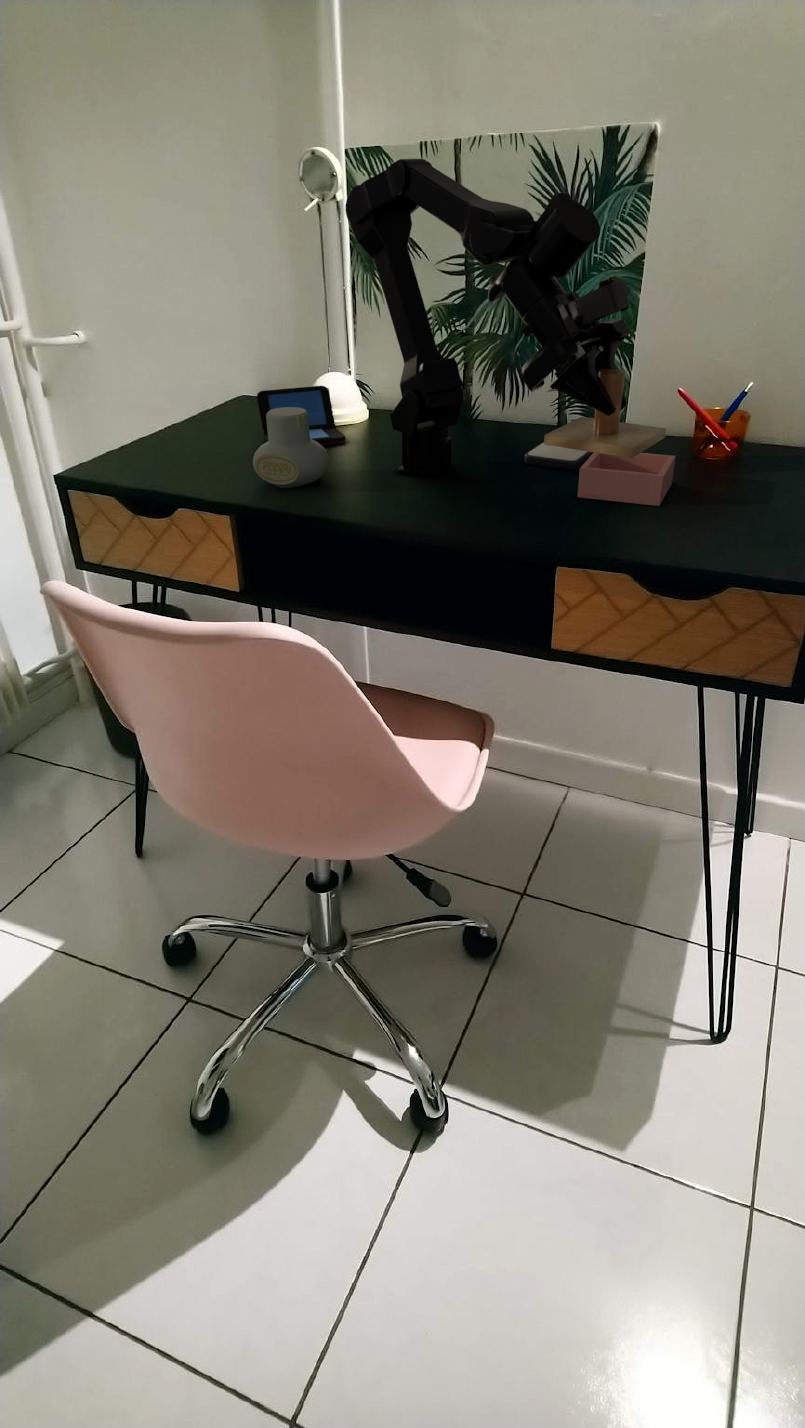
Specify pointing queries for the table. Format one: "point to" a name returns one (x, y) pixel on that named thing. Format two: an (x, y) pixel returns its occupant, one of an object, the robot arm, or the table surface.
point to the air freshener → (290, 450)
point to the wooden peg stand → (606, 427)
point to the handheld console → (312, 402)
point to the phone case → (557, 457)
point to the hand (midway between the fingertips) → (618, 410)
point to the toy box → (627, 478)
